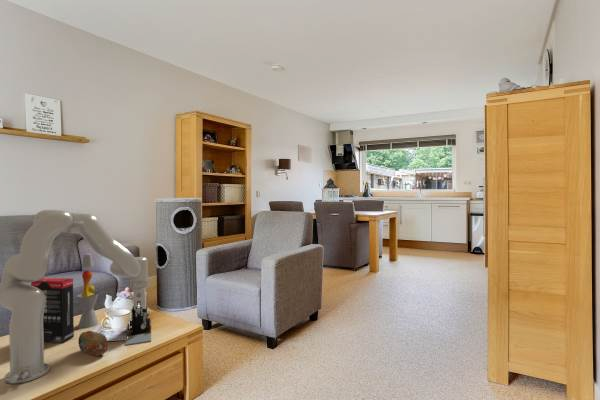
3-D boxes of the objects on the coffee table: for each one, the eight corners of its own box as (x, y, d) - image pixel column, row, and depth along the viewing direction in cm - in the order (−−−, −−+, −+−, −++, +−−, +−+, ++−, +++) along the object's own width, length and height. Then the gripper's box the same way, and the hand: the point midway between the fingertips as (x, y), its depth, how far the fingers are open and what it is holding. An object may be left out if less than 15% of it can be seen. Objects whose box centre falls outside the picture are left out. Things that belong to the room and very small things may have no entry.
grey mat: (151, 341, 151) (151, 340, 151) (125, 345, 147) (125, 344, 147) (151, 333, 159) (151, 332, 159) (126, 337, 155) (126, 336, 155)
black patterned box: (151, 333, 159) (151, 325, 159) (126, 337, 155) (126, 328, 155) (151, 326, 168) (151, 317, 168) (128, 329, 164) (128, 320, 164)
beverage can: (137, 335, 157) (137, 309, 157) (128, 332, 160) (128, 306, 160) (150, 330, 163) (149, 305, 162) (141, 327, 166) (141, 303, 166)
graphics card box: (75, 337, 155) (74, 277, 155) (63, 344, 148) (62, 280, 148) (40, 335, 157) (39, 276, 156) (26, 342, 150) (26, 279, 149)
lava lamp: (88, 328, 165) (87, 255, 164) (72, 327, 167) (72, 255, 166) (103, 322, 173) (102, 252, 173) (88, 320, 176) (87, 252, 175)
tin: (77, 351, 142) (77, 330, 141) (85, 348, 144) (85, 328, 144) (101, 358, 135) (101, 337, 135) (109, 355, 138) (109, 334, 138)
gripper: (147, 287, 155) (148, 326, 155) (148, 278, 171) (148, 314, 171) (129, 289, 152) (129, 329, 152) (131, 280, 168) (131, 316, 168)
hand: (139, 321), depth 161 cm, fingers open, 7 cm apart
